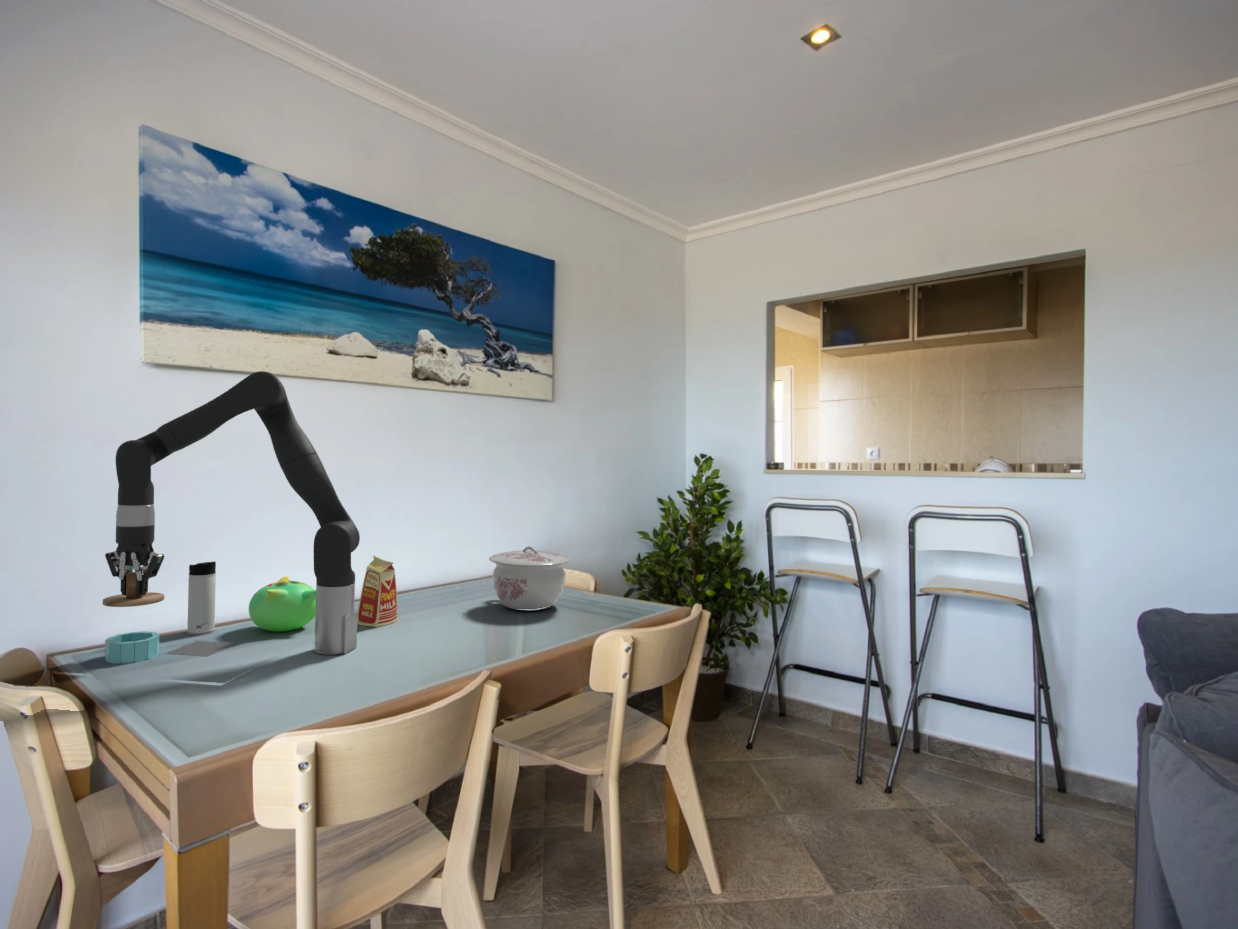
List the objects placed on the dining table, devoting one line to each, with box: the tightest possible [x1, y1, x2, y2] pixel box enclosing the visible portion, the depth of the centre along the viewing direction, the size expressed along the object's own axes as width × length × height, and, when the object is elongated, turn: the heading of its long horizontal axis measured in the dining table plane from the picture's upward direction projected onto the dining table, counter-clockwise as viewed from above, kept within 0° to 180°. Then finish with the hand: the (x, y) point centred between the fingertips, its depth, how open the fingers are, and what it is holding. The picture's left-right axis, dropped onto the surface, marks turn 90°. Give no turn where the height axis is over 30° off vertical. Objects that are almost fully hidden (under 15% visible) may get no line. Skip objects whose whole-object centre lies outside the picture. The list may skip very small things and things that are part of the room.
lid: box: [102, 571, 165, 608], centre depth 159 cm, size 12×12×7 cm
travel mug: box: [187, 561, 217, 636], centre depth 181 cm, size 6×7×20 cm
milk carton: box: [357, 555, 399, 628], centre depth 200 cm, size 9×9×20 cm
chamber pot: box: [488, 545, 571, 610], centre depth 226 cm, size 28×28×21 cm
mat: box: [164, 640, 238, 657], centre depth 168 cm, size 11×11×1 cm
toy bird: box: [248, 576, 316, 633], centre depth 188 cm, size 18×17×15 cm
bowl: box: [104, 630, 160, 664], centre depth 160 cm, size 10×10×5 cm
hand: (134, 594), depth 160 cm, fingers closed on lid, 3 cm apart
